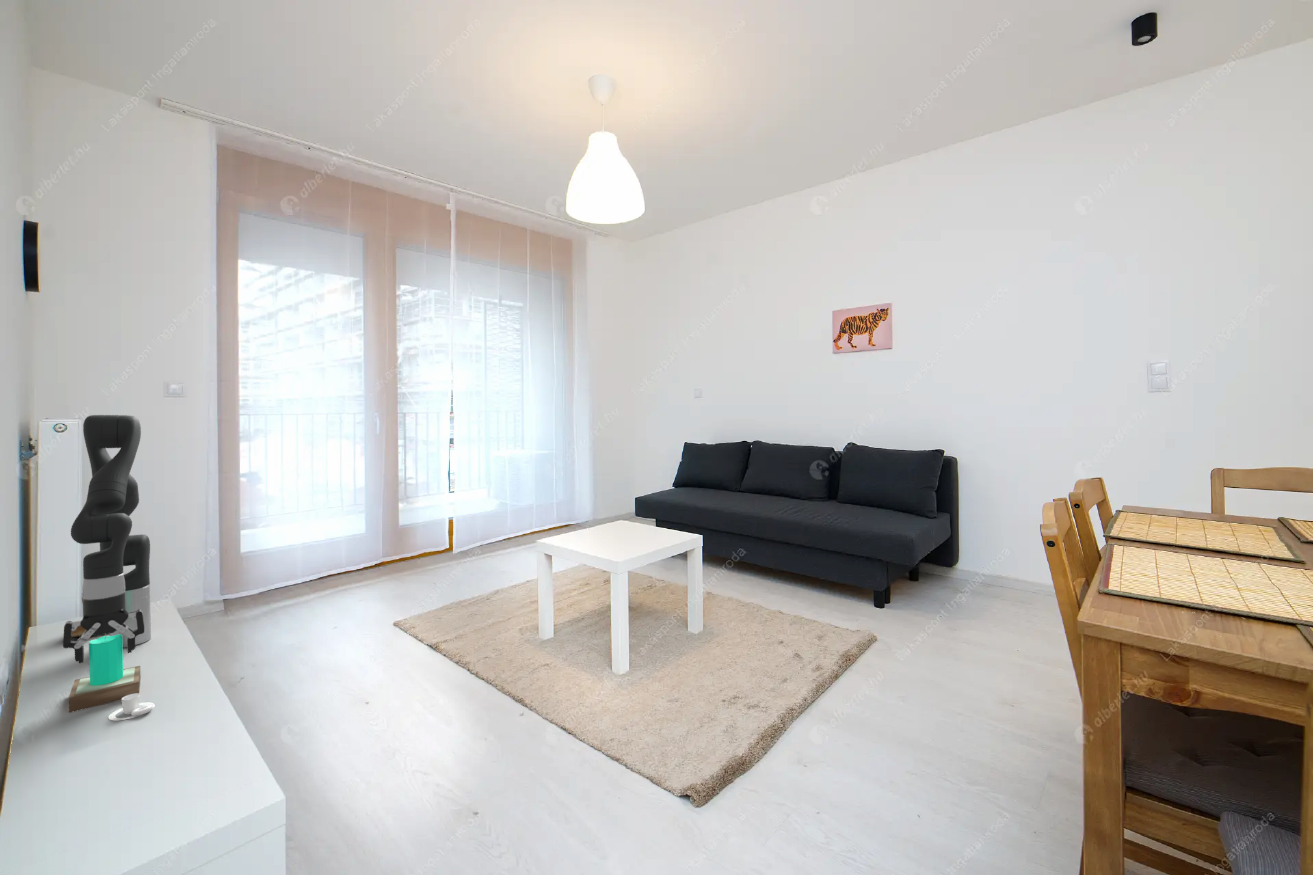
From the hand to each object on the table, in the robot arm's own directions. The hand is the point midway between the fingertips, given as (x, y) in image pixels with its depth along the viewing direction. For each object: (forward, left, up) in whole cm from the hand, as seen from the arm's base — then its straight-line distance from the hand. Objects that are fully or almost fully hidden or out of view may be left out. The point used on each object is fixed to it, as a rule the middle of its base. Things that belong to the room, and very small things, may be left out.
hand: (106, 656), depth 136 cm
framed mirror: (0, 0, -10) cm, 10 cm away
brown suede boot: (-59, -5, -10) cm, 60 cm away
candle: (0, 0, -6) cm, 6 cm away
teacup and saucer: (+18, +3, -10) cm, 21 cm away
